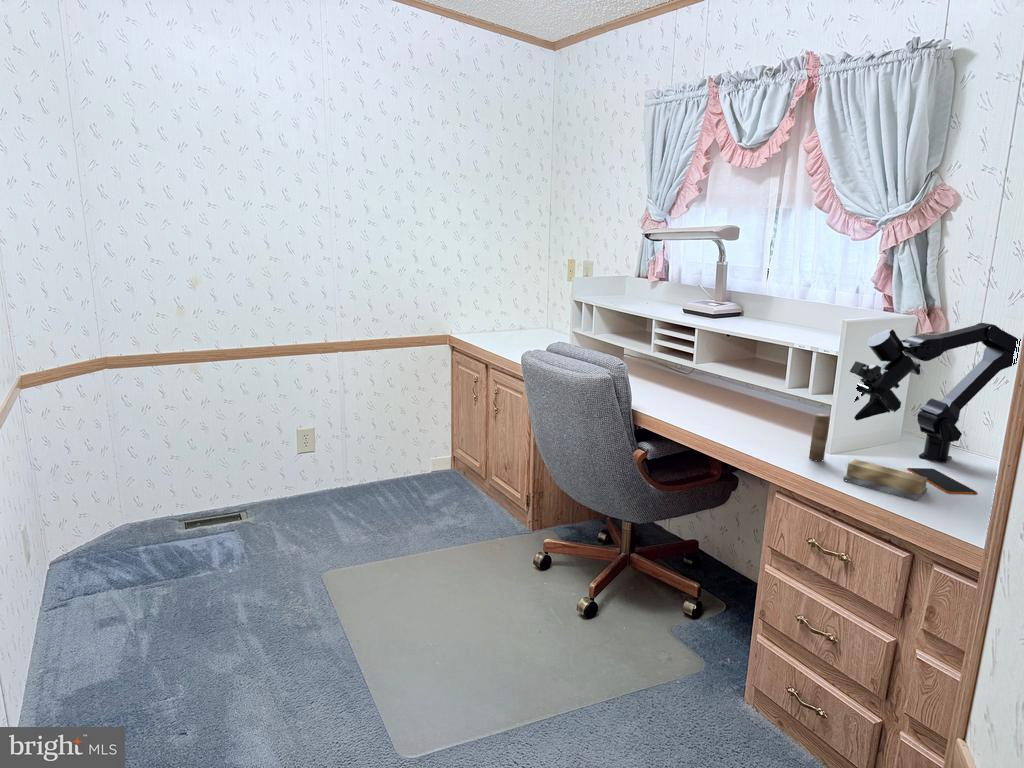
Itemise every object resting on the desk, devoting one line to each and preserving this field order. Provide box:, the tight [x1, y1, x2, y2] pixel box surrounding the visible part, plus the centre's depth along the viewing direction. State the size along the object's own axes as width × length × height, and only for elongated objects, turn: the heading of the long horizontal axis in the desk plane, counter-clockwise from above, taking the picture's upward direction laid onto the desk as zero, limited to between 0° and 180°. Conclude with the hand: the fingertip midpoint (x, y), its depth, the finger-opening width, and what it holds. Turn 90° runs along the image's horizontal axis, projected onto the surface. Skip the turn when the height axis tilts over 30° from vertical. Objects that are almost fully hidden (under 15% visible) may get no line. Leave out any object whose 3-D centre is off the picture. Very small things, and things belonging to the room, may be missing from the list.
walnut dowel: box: [808, 413, 831, 462], centre depth 179 cm, size 4×4×12 cm
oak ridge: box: [842, 459, 928, 501], centre depth 162 cm, size 16×8×4 cm, turn 44°
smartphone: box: [906, 467, 979, 495], centre depth 167 cm, size 8×17×1 cm, turn 2°
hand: (844, 414), depth 178 cm, fingers open, 9 cm apart
